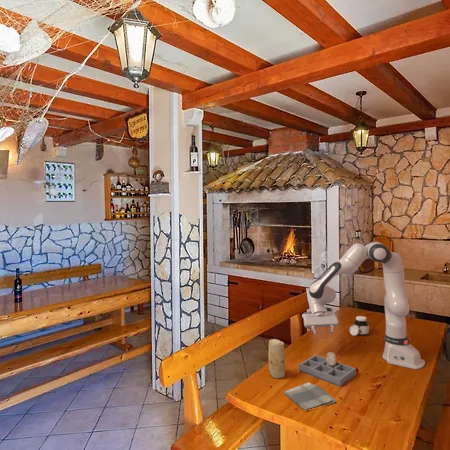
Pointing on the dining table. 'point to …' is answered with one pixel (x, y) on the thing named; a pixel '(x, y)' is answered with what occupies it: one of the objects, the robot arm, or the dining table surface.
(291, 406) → the dining table surface
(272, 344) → the food model
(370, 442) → the dining table surface
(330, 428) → the dining table surface
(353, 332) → the spread jar
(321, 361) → the gray compartment tray
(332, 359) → the egg
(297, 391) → the dish towel
